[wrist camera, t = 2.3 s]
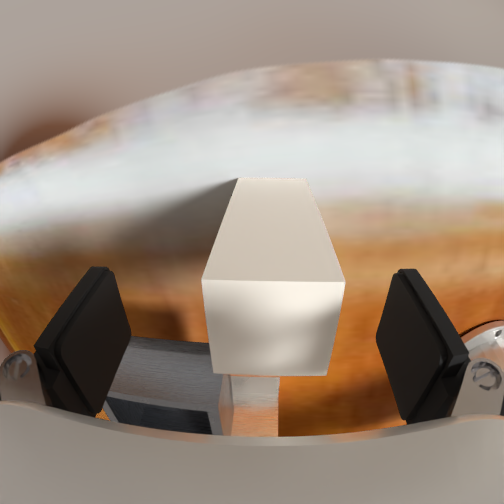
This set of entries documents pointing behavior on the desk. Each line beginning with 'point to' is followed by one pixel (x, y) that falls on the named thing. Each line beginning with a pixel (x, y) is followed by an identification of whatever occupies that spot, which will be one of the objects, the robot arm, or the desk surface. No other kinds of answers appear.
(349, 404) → the desk surface
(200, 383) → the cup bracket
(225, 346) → the cream rectangular beam
